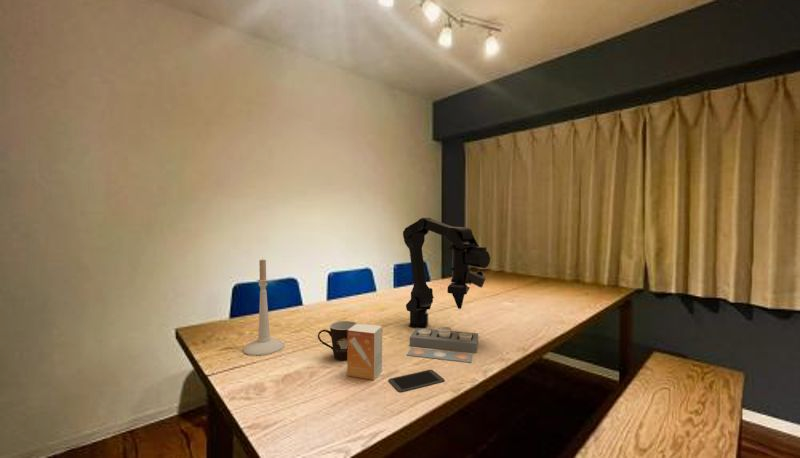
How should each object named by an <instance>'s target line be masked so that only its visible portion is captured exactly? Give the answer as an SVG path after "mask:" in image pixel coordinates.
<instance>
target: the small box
mask: <svg viewBox="0 0 800 458" xmlns="http://www.w3.org/2000/svg"><path fill="white" fill-rule="evenodd" d="M347 348H348V350H347V361H346V362H347V364H346V365H347V371H346V372H347V375H346V376H348V377H353V378H360V379H365V380H372V381H375V380H376V379H377V377H378V376H379V375H380V374H381V373H382V371H383V326H382V325H374V324H368V323H367V324H365V323H363V324H362V323H357V324H355V325H354V326H352V327H351V328H350V329H348V343H347Z"/></svg>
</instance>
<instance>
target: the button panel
mask: <svg viewBox="0 0 800 458" xmlns="http://www.w3.org/2000/svg"><path fill="white" fill-rule="evenodd" d="M420 329H425V328H418V327H415V329H414V330H413V332H412V333H411V334H410V336H409V346H410V347H414V348H423V349H433V350H442V351H451V352H461V353H470V354H473V353H474V354H477V350H478V345H479V333H476V332H469V331H468V332H465V331H457V330H456V331H455V330H451V332H450V338H440V337H439V331H438V329H432V328H428V329H429V330H431V333H430V336H420V335H419V333H418V330H420ZM464 332H465V333H470V334H472V338H471V340H461V339H459V333H464Z"/></svg>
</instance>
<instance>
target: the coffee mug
mask: <svg viewBox="0 0 800 458" xmlns="http://www.w3.org/2000/svg"><path fill="white" fill-rule="evenodd" d="M355 324H358V323H357V322H356V321H352V320H339V321H336V322H332V323H331V324H330V325H329V328H330V329H329V330H328V329H321V330H319V332H318V333H317V339H318V340H319V342H321V343H322V344H323V345H324V346H326V347H327V348H329V349H331V350H332V353H333V359H334V360H336V361H338V362H347V350H348V348H347V343H348V329H350V328H351V327H352V326H354V325H355ZM323 332H324V333H327V334H329V336H330V338H331V345H330V344H328V343H326V342H325V341H323V340H322V339H321V337H320V335H321V333H323Z"/></svg>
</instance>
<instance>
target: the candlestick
mask: <svg viewBox="0 0 800 458" xmlns="http://www.w3.org/2000/svg"><path fill="white" fill-rule="evenodd" d="M258 262H259V279H257V280H256V281H257V282H258V286H259V289H260V291H259V311H258V312H259V315H258V335H257V336H258V337H257V339H256V340H253V341H250V342H249V343H247V344H246V345H245V346H244V347H243V349H242V350H243V351H242V352H244V353H246V354H248V355H247V356H249V355H265V356H268V355H267V354H270V355H273V354H272V353H274V354H276V353H275V352H277V353H279V352H280V350H281V351H283V349H284V348H285V347H284V346H285V345H286V344H285V342H284V341H283V340H281V339H280V338H275V337H271V336H270V334H271V333H270V322H269V321H270V320H269V308H268V295H267V294H268V293H267V291H268V290H267V286H268V281H270V280H269V279H268V278H267V260H266V259H259V261H258ZM278 351H279V352H278ZM244 353H243V354H244ZM246 354H245V355H246Z"/></svg>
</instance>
